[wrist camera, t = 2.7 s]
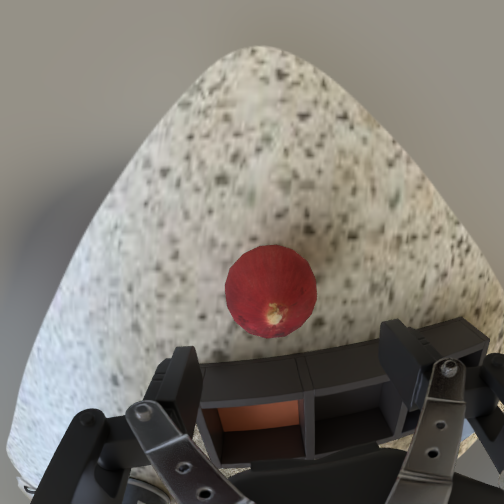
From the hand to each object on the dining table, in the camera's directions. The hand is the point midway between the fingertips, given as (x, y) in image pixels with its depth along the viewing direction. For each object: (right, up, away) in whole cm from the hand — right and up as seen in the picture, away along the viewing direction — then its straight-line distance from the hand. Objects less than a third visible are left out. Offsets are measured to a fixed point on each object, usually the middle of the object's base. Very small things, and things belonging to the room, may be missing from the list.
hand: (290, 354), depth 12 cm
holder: (+7, -8, +13) cm, 17 cm away
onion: (0, +3, +11) cm, 11 cm away
